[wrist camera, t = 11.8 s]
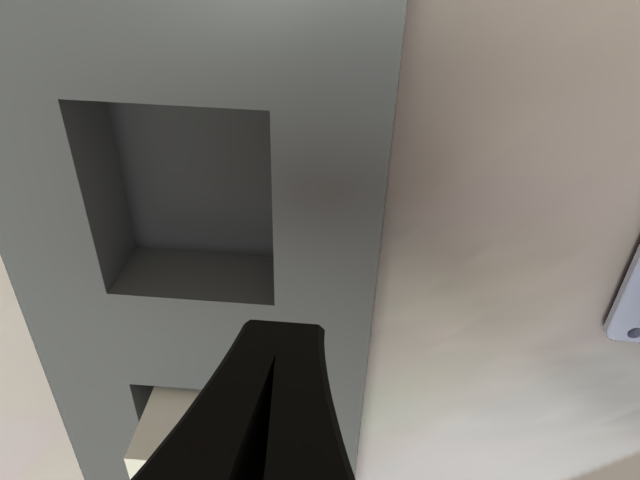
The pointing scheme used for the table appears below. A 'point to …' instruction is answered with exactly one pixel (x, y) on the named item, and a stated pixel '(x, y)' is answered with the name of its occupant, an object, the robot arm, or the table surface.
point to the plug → (157, 423)
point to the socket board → (191, 191)
